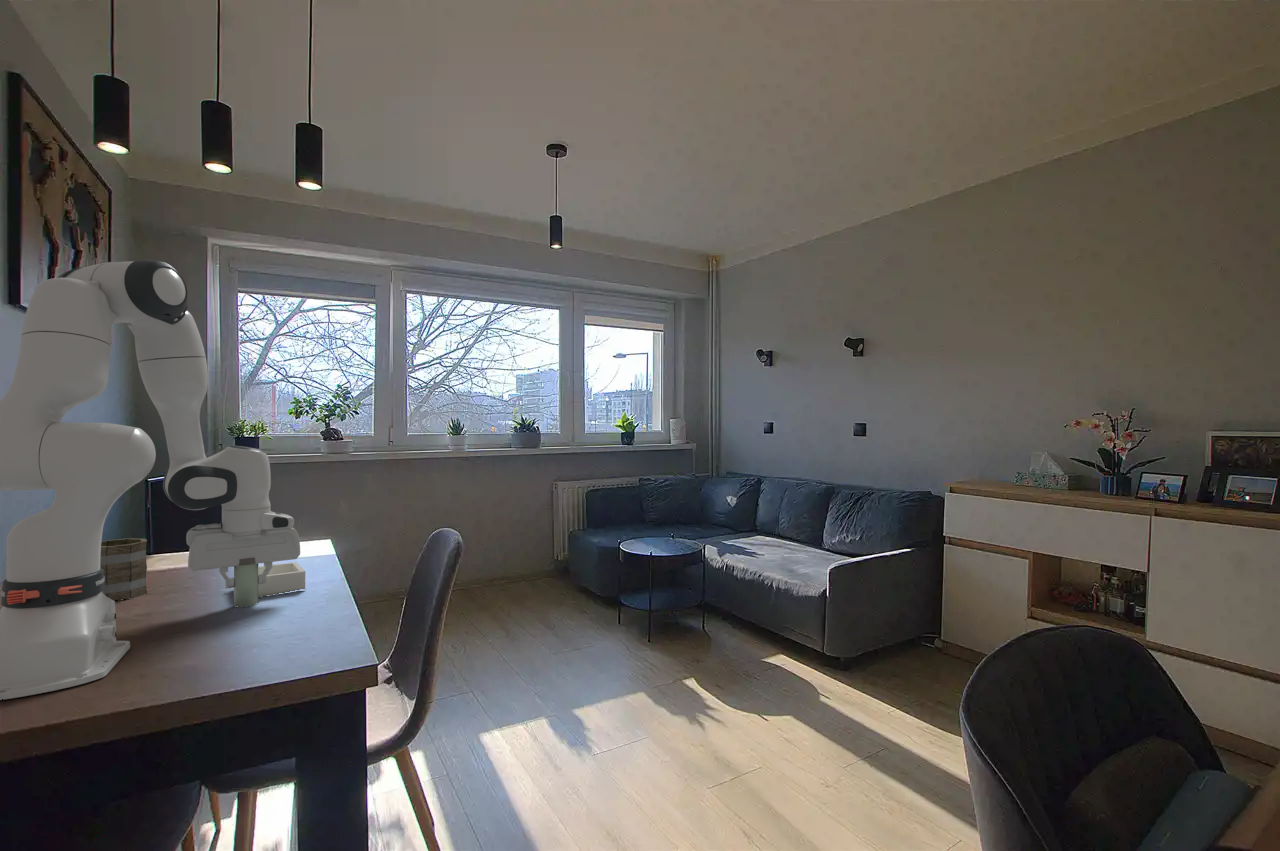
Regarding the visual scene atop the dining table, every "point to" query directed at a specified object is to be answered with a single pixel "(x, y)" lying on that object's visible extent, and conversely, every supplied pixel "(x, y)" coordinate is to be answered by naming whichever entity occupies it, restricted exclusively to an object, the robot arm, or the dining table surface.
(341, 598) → the dining table surface
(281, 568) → the bin
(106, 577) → the mug
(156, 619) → the dining table surface
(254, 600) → the spice jar
